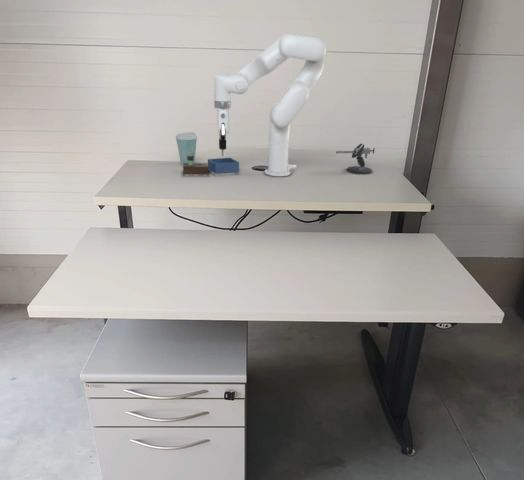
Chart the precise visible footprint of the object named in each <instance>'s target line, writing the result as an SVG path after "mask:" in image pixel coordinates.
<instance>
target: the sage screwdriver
mask: <svg viewBox="0 0 524 480" xmlns="http://www.w3.org/2000/svg"><path fill="white" fill-rule="evenodd" d="M187 160H188V165H194V156H193V152H187Z"/></svg>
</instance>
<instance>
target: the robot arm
mask: <svg viewBox="0 0 524 480" xmlns="http://www.w3.org/2000/svg"><path fill="white" fill-rule="evenodd" d="M326 54H327V45H326V43H325V41H324V39H322V38H320V37H313V36H307V35H300V34H296V33H290V32H289V33H284V34H282V35H281V36H280V37H278V38H277V39H276V40H275V41H274V42H273V43H272V44H270V45H269V46H268V47H266V48H265V49H264V50H263V51H262V52H261V53H259V54H258V55H257V56H256V57H255V58H254V59H252V61H250V62H249V63H248V64H247V65H246V66H244V67H243V68H242V69H240V70H238V72H237V73H235V74H234V75H229V74H225V73H217V74H215V75H214V77H213V82H214V83H213V89H214V90H213V98H214V99H213V100H214V101H213V105H214V107H213V108H214V110H216V123H217V124H216V125H217V131H218V133H219V138H218V148H219V150H221V149H225V150H227V134H229V133H230V112H229V111H230V110H232V94H236V95H243V94H245V93H246V92H247V91H248V89H249V87H250V86H252V85H253V84H254V83H255V82H256V81H258V80H259V79H261V78H262V77H264V76H266V75H269V74H271V73H272V72H273V71H274V70H276V69H277V68H278V67H280V66H281V65H282V64H283V63H285V62H286V61H287V60H288V59H290V58H293V59H296V60H297V59H298V60H303V61H305V62H304V65H303V66H302V68H301V69H300V71H299V72H298V73H297V75H296V76H295V77H294V79H293V80H292V81H291V82H290V83H289V84H288V86H287V88H286V90H285V93H284V95H283V97H282V98H281V99H280V101H276V102H274V103H273V104H272V106H271V107H270V109H269V128H268V129H269V132H268V134H269V135H268V157H267V160H268V161H267V168H266V169H265V170H264V174H265V175H267V176H271V177H287V176H290V175H291V170H296V169H297V168H298V167H297V164H290V163H289V150H290V136H291V135H290V133H291V123H293V121H294V120H295V119H296V118H297V116H298V115H299V114H300V112H301V111H302V110H303V108H304V107H305V106H306V105H307V102H308V100H309V98H310V91H311V90H312V89H313V88H314V86H315V85H316V84H317V82H318V81H319V79H320V77H321V76H322V73H323V71H324V67H325V56H326Z"/></svg>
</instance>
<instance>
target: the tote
mask: <svg viewBox="0 0 524 480" xmlns="http://www.w3.org/2000/svg"><path fill="white" fill-rule="evenodd" d="M207 163H208V171H210V172H211V173H213V174H215V175H221V174H233V173H239V172H240V161H238V160H236V159H234V158H232V157H219V158H208V159H207Z"/></svg>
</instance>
